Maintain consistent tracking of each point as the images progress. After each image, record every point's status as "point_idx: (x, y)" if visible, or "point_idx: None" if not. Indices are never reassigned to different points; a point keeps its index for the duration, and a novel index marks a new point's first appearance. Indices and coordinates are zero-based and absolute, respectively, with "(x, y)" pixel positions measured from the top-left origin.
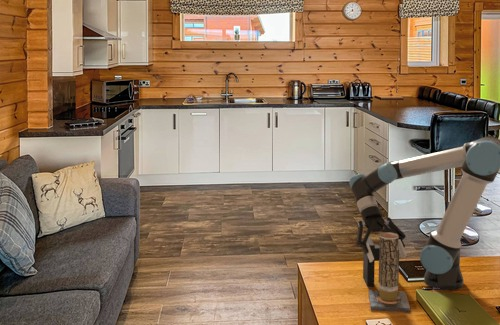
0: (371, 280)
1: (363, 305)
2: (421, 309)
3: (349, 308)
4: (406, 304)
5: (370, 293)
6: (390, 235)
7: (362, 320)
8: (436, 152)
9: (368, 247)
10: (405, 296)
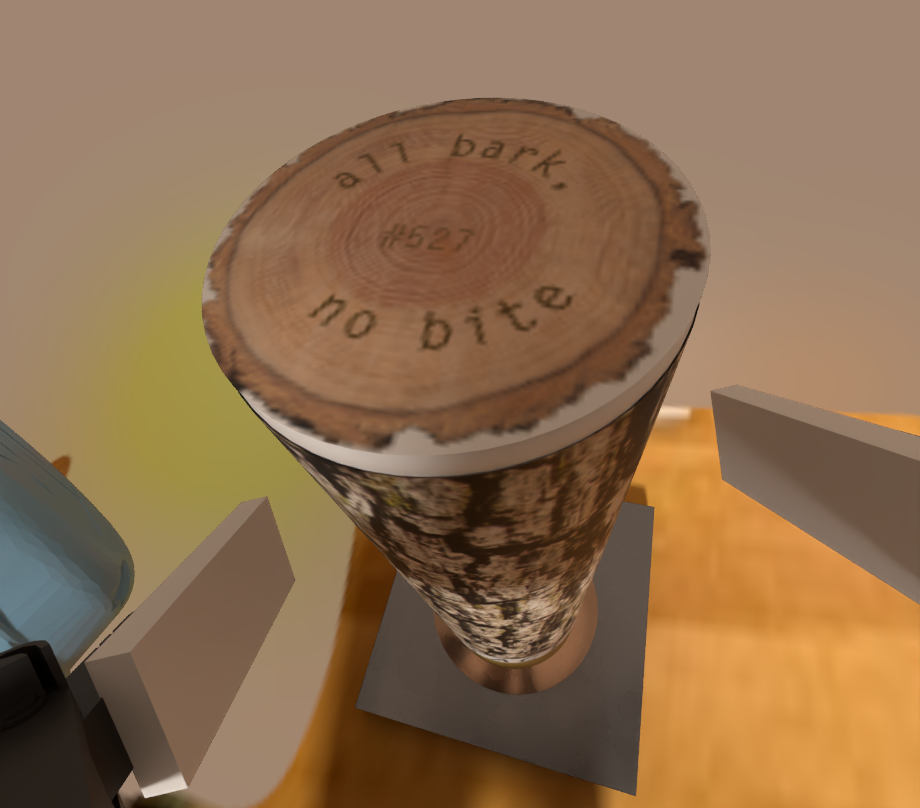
0: None
1: (690, 580)
2: None
3: (789, 546)
4: None
5: (628, 713)
6: (416, 213)
7: (708, 408)
8: None
9: (876, 427)
10: (388, 623)
